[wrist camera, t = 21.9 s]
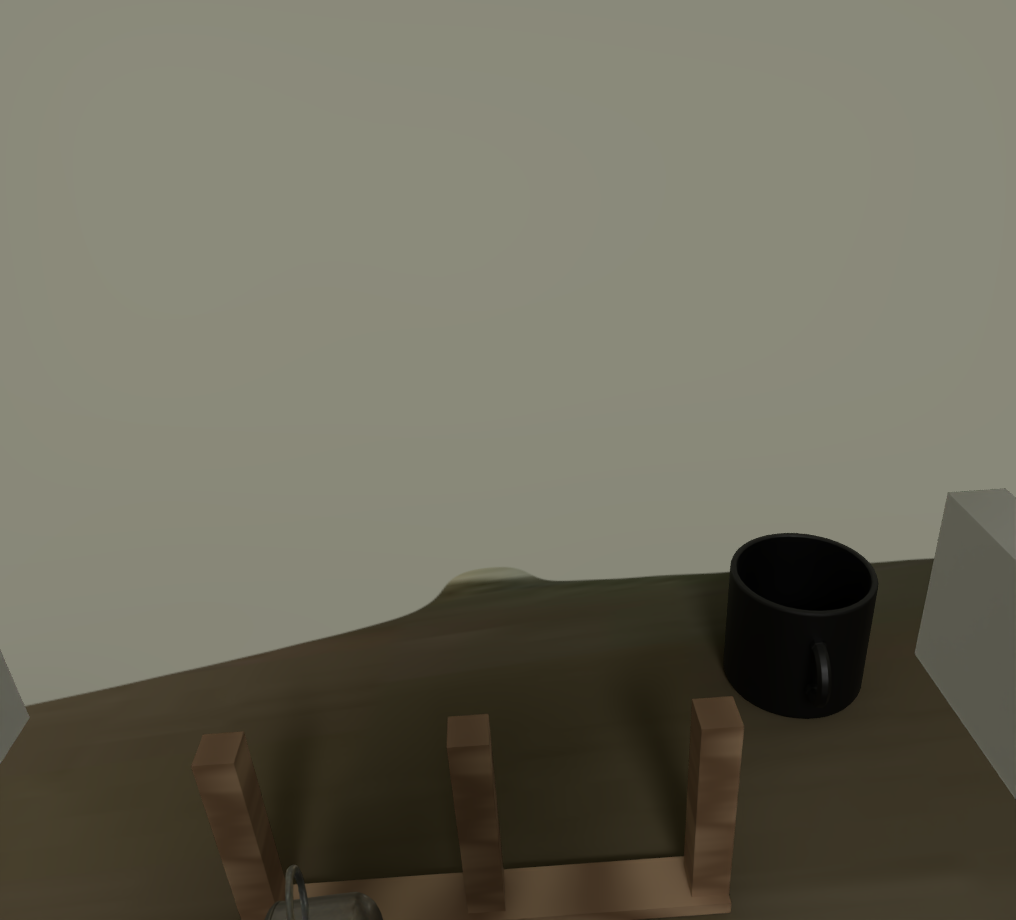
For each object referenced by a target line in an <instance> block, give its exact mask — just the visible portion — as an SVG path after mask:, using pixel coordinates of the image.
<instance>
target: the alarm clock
mask: <svg viewBox="0 0 1016 920" xmlns="http://www.w3.org/2000/svg"><path fill="white" fill-rule="evenodd" d="M294 878H295V880H296V882H297V885H298V892H299V896H300V899H295V900H293V879H294ZM265 920H383V917H382V914H381V912H380V910H379V908H378V906H377V904H376V903H375V901H374V900H373V899H371V898H370V897H368V896H367V895H366V894H363V893H361V892H349V893H341V894H333V895H325V896H318V897H311V898H307V892H306V887H305V883H304V879H303V876H302V873H301V871H300V869H299V867H298V866H297V865H291V866H290V867H289V868H288V869H287V872H286V883H285V901H277V902H275V903H274V904H273V905H272V907H271V908H270V909H269V911H268V912H267V915H266V917H265Z"/></svg>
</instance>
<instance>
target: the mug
mask: <svg viewBox="0 0 1016 920" xmlns="http://www.w3.org/2000/svg"><path fill="white" fill-rule="evenodd" d="M877 590H878V578H877V575H876V573H875V570H874V568H873V567H872V566H871V564H870V563H869V562H868V561H867V560H866V559H865V558H864V557H863V556H862V555H860V554H859V553H858V552H856V551H854V550H853V549H851V548H849V547H847V546H845V545H843V544H841V543H838V542H836V541H833V540H830V539H827V538H823V537H819V536H814V535H808V534H798V533H781V534H772V535H766V536H762V537H759V538H756V539H753V540H751V541H749V542H747V543H746V544H744V545H743V546H742V547H740V548H739V549H738V550H737V551H736V553H735V554H734V556H733V558H732V560H731V566H730V579H729V593H728V607H727V621H726V635H725V648H724V669H725V672H726V675H727V677H728V679H729V681H730V683H731V684H732V686H733V687H734V688H735V689H736V691H737V692H738V693H739V694H740V695H741V696H743V697H744V698H745V699H746V700H748V701H749V702H751V703H752V704H754V705H756V706H758V707H760V708H761V709H764V710H766V711H769V712H771V713H774V714H778V715H782V716H786V717H792V718H804V719H809V718H820V717H825V716H829V715H832V714H835V713H837V712H839V711H841V710H843V709H845V708H846V707H847V706H848V705H850V704H851V703H852V702H853V700H854V699H855V698H856V697H857V695H858V693H859V691H860V688H861V683H862V677H863V671H864V665H865V660H866V654H867V648H868V642H869V636H870V631H871V625H872V619H873V613H874V607H875V602H876V596H877Z"/></svg>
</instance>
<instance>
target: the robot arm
mask: <svg viewBox="0 0 1016 920" xmlns="http://www.w3.org/2000/svg"><path fill="white" fill-rule="evenodd" d="M915 655H916V656H917V658H918V659H919V661H920V662H921V663H922V665H923V666H924V668H925V669H926V671H927V672H928V674H929V675H930V676H931V678H932V679H933V681H934V682H935V684H936V685H937V687H938V688H939V689H940V691H941V692H942V694H943V695H944V697H945V698H946V700H947V701H948V702H949V704H950V705H951V707H952V708H953V710H954V711H955V713H956V714H957V715H958V717H959V718H960V720H961V721H962V723H963V724H964V726H965V727H966V728H967V730H968V731H969V733H970V734H971V736H972V737H973V739H974V740H975V741H976V743H977V744H978V746H979V747H980V749H981V750H982V752H983V753H984V754H985V756H986V757H987V759H988V760H989V762H990V763H991V765H992V766H993V767H994V769H995V770H996V772H997V773H998V775H999V776H1000V777H1001V779H1002V780H1003V782H1004V783H1005V785H1006V786H1007V788H1008V789H1009V790H1010V792H1011V793H1012V795H1013V796H1014V798H1015V799H1016V498H1015V497H1014V496H1013V495H1012V494H1011V493H1010V492H1009V491H1007V490H1006V489H1005V488H1004V489H990V490H976V491H962V492H948V495H947V499H946V504H945V509H944V514H943V519H942V524H941V528H940V533H939V539H938V543H937V549H936V553H935V558H934V562H933V567H932V572H931V577H930V582H929V587H928V592H927V596H926V601H925V606H924V611H923V616H922V621H921V626H920V630H919V635H918V640H917V645H916V650H915ZM29 718H30V717H29V715H28V713H27V710H26V708H25V706H24V703H23V701H22V699H21V697H20V695H19V692H18V690H17V687H16V685H15V683H14V680H13V678H12V676H11V674H10V671H9V669H8V667H7V664H6V662H5V660H4V658H3V655H2V653H1V651H0V763H1V762H2V760H3V759H4V757H5V755H6V754H7V752H8V751H9V749H10V748H11V746H12V744H13V743H14V741H15V740H16V738H17V737H18V735H19V733H20V732H21V730H22V729H23V727H24V726H25V724H26V722H27V721H28V719H29Z"/></svg>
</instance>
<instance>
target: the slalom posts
mask: <svg viewBox="0 0 1016 920" xmlns="http://www.w3.org/2000/svg"><path fill="white" fill-rule="evenodd" d="M743 734H744V724H743V722H742V719H741V717H740V714H739V711H738V709H737V706H736V703H735V701H734V698H733V696H728V697H714V698H700V699H692V710H691V729H690V749H689V768H688V787H687V807H686V826H685V845H684V856H680V857H666V858H652V859H639V860H625V861H611V862H597V863H584V864H570V865H556V866H542V867H529V868H515V869H503V858H502V848H501V838H500V827H499V817H498V807H497V796H496V786H495V776H494V765H493V755H492V744H491V734H490V724H489V714H478V715H464V716H451V717H448V724H447V754H448V762H449V770H450V777H451V785H452V793H453V800H454V808H455V816H456V823H457V831H458V839H459V846H460V854H461V862H462V869H463V872H460V873H446V874H433V875H419V876H405V877H391V878H378V879H364V880H350V881H336V882H323V883H309V884H305V887H306V892H307V898H311V897H318V896H325V895H333V894H341V893H349V892H361V893H363V894H366V895H367V896H368V897H370V898H371V899H373V900H374V901H375V903H376V904H377V906H378V908H379V910H380V912H381V914H382V917H383V920H638V919H652V918H665V917H679V916H693V915H706V914H720V913H731V900H730V897H729V888H730V877H731V866H732V855H733V844H734V833H735V822H736V811H737V800H738V789H739V778H740V767H741V756H742V745H743ZM191 768H192V771H193V774H194V777H195V780H196V783H197V786H198V789H199V792H200V795H201V798H202V801H203V805H204V808H205V811H206V814H207V817H208V820H209V823H210V826H211V829H212V832H213V835H214V838H215V841H216V844H217V847H218V850H219V853H220V857H221V860H222V863H223V866H224V869H225V872H226V875H227V878H228V881H229V884H230V887H231V890H232V893H233V896H234V899H235V902H236V905H237V909H238V912H239V915H240V918H241V920H265V917H266V915H267V912H268V911H269V909H270V908H271V907H272V905H273V904H274V903H275V902H277V901H285V883H286V880H285V877H284V873H283V870H282V866H281V863H280V859H279V855H278V852H277V848H276V845H275V841H274V837H273V834H272V830H271V827H270V823H269V820H268V816H267V812H266V809H265V805H264V802H263V798H262V794H261V791H260V787H259V784H258V780H257V777H256V773H255V769H254V766H253V762H252V759H251V755H250V752H249V748H248V744H247V741H246V737H245V734H244V731H243V732H229V733H215V734H203V736H202V739H201V741H200V744H199V746H198V749H197V752H196V754H195V757H194V760H193V762H192V765H191ZM295 899H300V896H299V892H298V885H297V884H295V885H293V900H295Z"/></svg>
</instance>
